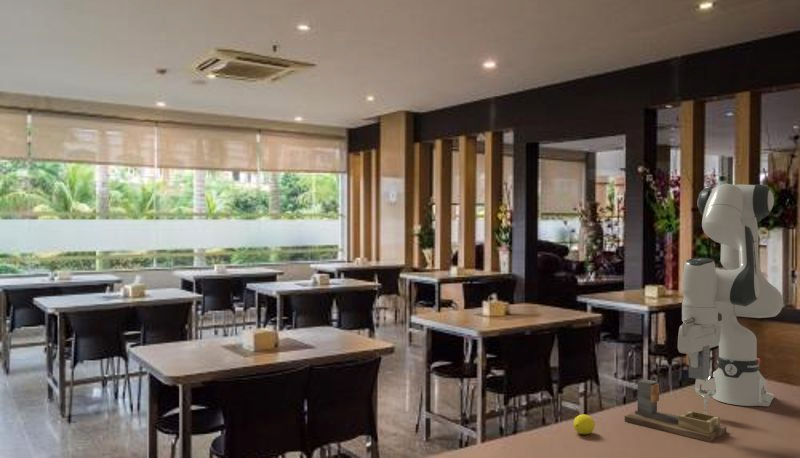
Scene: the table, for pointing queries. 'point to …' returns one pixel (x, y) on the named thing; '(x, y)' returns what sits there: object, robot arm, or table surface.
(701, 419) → the rail
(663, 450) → the table surface
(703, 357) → the grey metal slab
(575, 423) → the lemon
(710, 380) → the wineglass
